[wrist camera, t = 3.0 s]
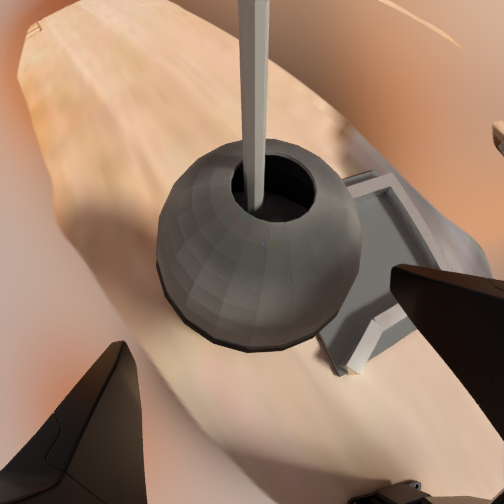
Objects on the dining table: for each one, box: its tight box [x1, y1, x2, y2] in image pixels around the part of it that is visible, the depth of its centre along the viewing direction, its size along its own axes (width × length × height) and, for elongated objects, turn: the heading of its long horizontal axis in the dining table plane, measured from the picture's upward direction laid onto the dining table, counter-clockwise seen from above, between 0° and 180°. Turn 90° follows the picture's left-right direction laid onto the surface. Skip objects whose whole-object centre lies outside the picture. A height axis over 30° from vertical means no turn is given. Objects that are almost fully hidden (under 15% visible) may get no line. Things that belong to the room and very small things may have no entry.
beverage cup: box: [156, 0, 363, 353], centre depth 12 cm, size 7×7×20 cm
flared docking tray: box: [339, 173, 453, 375], centre depth 23 cm, size 13×15×2 cm
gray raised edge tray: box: [318, 170, 427, 377], centre depth 24 cm, size 13×14×1 cm
